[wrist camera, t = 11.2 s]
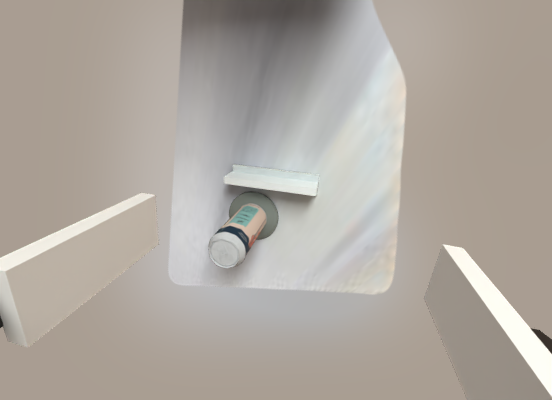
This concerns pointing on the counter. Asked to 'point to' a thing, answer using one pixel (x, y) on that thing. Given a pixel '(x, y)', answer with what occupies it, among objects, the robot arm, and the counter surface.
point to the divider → (273, 179)
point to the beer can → (237, 236)
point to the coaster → (264, 204)
